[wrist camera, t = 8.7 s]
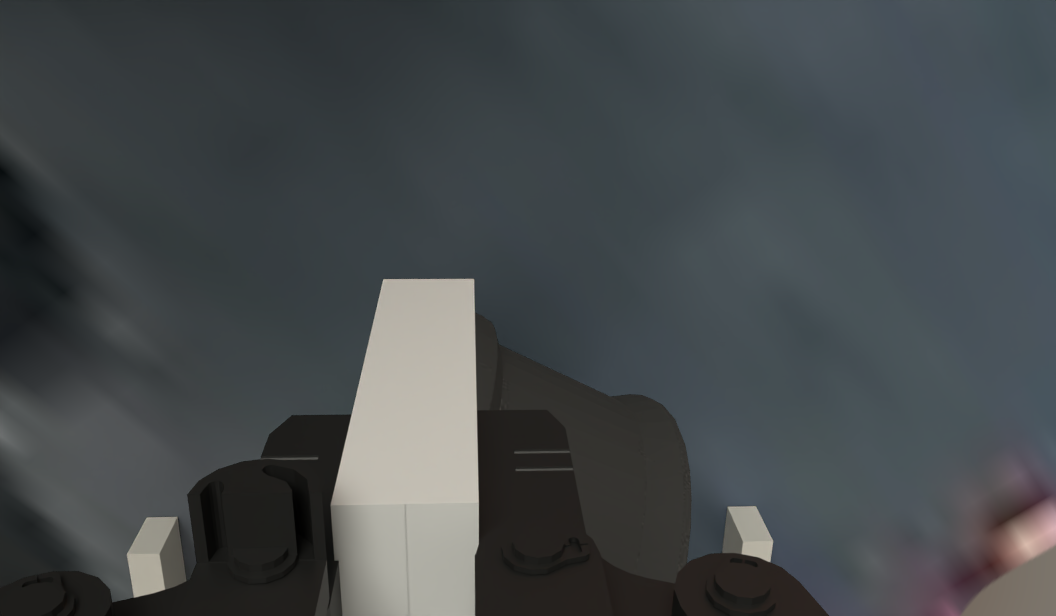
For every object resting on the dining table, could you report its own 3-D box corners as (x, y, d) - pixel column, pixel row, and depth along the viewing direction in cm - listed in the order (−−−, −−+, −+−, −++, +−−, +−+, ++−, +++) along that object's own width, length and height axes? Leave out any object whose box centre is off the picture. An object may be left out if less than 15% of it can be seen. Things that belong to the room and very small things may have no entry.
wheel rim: (465, 239, 43) (465, 479, 24) (637, 323, 45) (757, 603, 26) (289, 567, 49) (182, 958, 30) (448, 628, 51) (437, 1028, 33)
